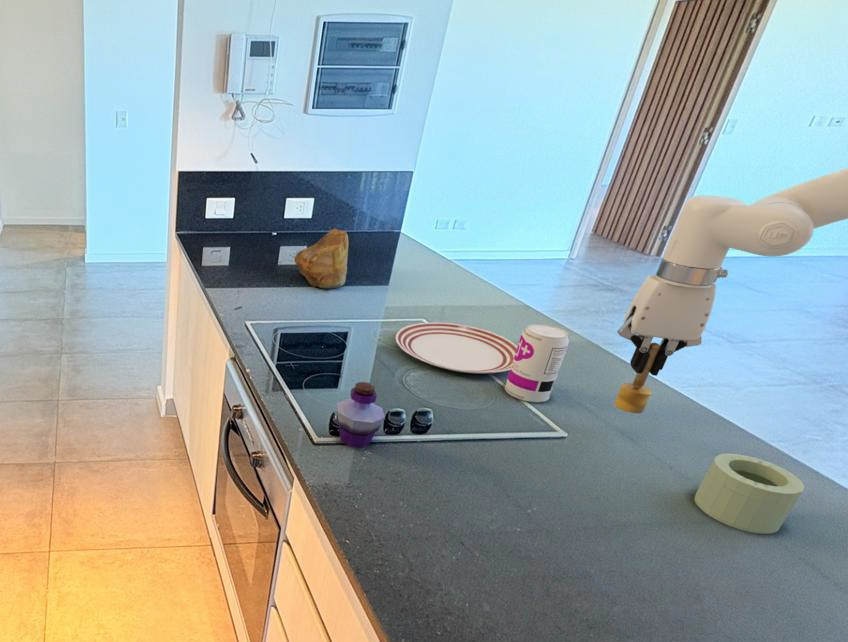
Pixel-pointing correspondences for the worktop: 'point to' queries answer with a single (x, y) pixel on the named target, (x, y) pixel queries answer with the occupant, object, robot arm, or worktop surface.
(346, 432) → the potion bottle
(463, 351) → the dinner plate
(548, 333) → the supplement can
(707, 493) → the pale green hollow cylinder
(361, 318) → the worktop surface
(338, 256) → the rough brown rock
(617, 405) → the peg with round base
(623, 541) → the worktop surface
